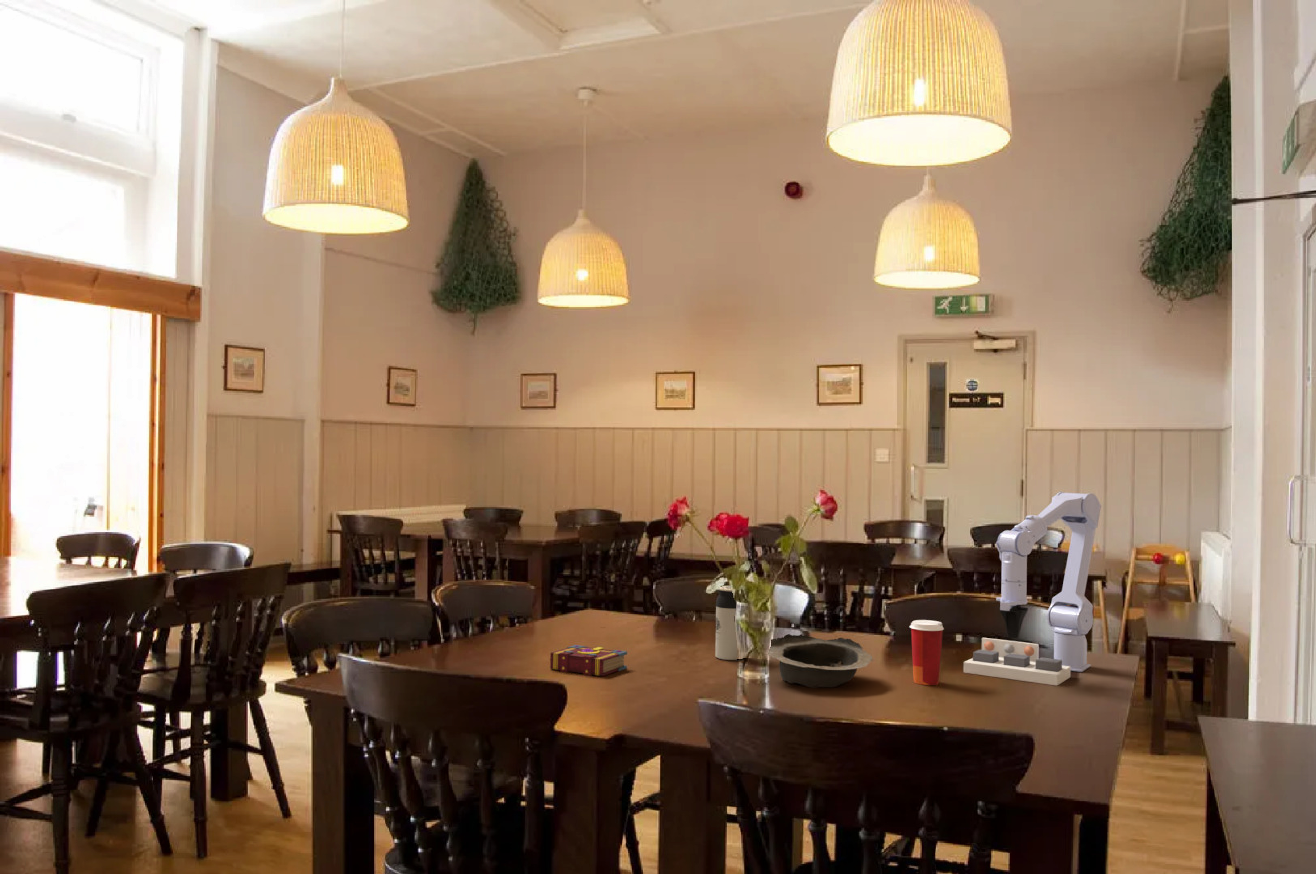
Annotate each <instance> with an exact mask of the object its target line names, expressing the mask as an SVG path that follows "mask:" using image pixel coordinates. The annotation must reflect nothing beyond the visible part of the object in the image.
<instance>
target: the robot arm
mask: <svg viewBox="0 0 1316 874" xmlns="http://www.w3.org/2000/svg"><path fill="white" fill-rule="evenodd" d="M1101 508H1102V505H1101V503H1100V501H1099V498H1098V497H1097V496H1096V494H1094V493H1091V492H1089V493H1079V492H1078V493H1077V492H1065V491H1059V492H1058V493H1056V495H1054V496H1052V497H1051V502H1050V503H1049V505H1048V506H1046V507H1045V508H1043V510H1042V511H1041V512H1040V513H1039V514H1037V515H1035V514H1031V515H1030V514H1028V515H1026V516H1025V517H1024V518H1025V519H1024V520H1023V521H1021V522H1019V524H1015V525H1014V527H1013V528H1012V529H1011V530H1008V529H1006V530H1004V531H1002V532H1001V533H999V535H998V537H997V541H996V542H995V544H996V545H995V546H996V548H997V551H998V552H999V560H1000V561H1001V592H1000V593H1001V596H1000V597H996V598H995V599H996V602H997V601H998V602H999V603H1000V604H999V605H1000V607H999V612H1000V614H1001V616H1002V618H1003V621H1004V624H1005V629H1006V633H1007V637H1008V638H1011V639H1018V638H1019V637H1020V633H1021V629H1022V625H1023V622H1024V618H1025V616H1026V614H1027V613H1028V611H1029V609H1028V607H1024V606H1022V605H1027V604H1028V598H1027V597H1028V596H1027V583H1028V582H1027V580H1028V579H1027V578H1028V577H1027V576H1028V573H1027V572H1028V570H1027V569H1028V567H1027V565H1028V564H1027V563H1028V555H1030V554H1031V552H1032V550H1033V547H1034V546H1035V544H1036V542H1038V541H1039V540H1040V539H1042V538H1043V537H1044V536H1045V535H1047V533H1048V527H1049V526H1051V525H1053V524H1054V523H1056V522H1057V521H1059V520H1061V521H1062V523H1063V524H1064V525H1065V526H1067V527H1068V528H1070V531H1071V539H1070V543H1069V548H1068V555H1067V560H1066V565H1065V572H1064V577H1063V584H1062V588H1061V591H1060V592H1059V593H1057V594H1056V595H1055V596H1053V597H1052V598H1051V603H1050V606H1049V607H1048V609H1047V612H1046V621H1047V624H1048V626H1049V627H1051V631H1052V632H1053V659H1058V660H1062V666H1070V667H1071V672H1078V673H1079V672H1080V673H1083V672H1084V671H1086V670H1087V669H1089V668H1090V667H1091V666H1092V664H1090V663H1088V657H1087V656H1088V642H1087V638H1086V635H1087V634H1088V633H1089V631H1090V630H1091V629H1092V626H1093V625H1094V624H1093V623H1094V617H1093V608H1094V605H1093V603H1091V602H1090V600H1088V599H1087V597H1086V596H1085V593H1086V588H1087V582H1088V577H1089V571H1090V565H1091V564H1090V563H1091V558H1092V553H1093V545H1094V540H1095V535H1096V529H1097V528H1098V526H1099V520H1100V515H1101Z"/></svg>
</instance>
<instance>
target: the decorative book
mask: <svg viewBox="0 0 1316 874" xmlns="http://www.w3.org/2000/svg"><path fill="white" fill-rule="evenodd" d="M626 655H628V651H627V650H620V649H619V650H618V649H605V647H601V646H598V647H589V646H588V645H587V646H585V645H579V644H573V645H570V646H567V647H566V648H562V649H559V650H555V651H552V652H550V658H549V660H550V662H549V663H550V667H549V668H550V670H558V671H559V672H561V673H570V672H571V673H578V674H583V676H590V677H591V676H599V677H604V676H607V675H610V674H612V673H615V672H620V671H624V670H627V669H628V667H627V665H625V656H626Z"/></svg>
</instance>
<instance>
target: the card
mask: <svg viewBox="0 0 1316 874" xmlns="http://www.w3.org/2000/svg"><path fill="white" fill-rule="evenodd" d="M1039 646H1040V645H1039V644H1038V643H1031V642H1024V641H1016V640H1007V639H998V638H987V637H982V638H981V650H987V651H995V652H999V657H1000V658H1004V656H1005V655H1008V654H1010V653H1011V654H1019V655H1027V656H1030V661H1031V662H1036V660H1037V659H1039V657H1040V655H1039V654H1040V653H1039V652H1040V651H1039V650H1040V649H1039V648H1040V647H1039Z"/></svg>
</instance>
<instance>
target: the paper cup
mask: <svg viewBox="0 0 1316 874" xmlns="http://www.w3.org/2000/svg"><path fill="white" fill-rule="evenodd" d="M909 628H910V630H911V631H910V632H911V653H912V655H911V656H912V672H913V676H912V677H913V683H914V684H918V685H923V686H937V685H939V680H940V673H941V671H940V670H941V669H940V668H941V656H942V647H943V646H942V645H943V630H945V628H944V627H943V623H942V622H941V621H937V620H930V619H928V620H927V619H916V620H913V621H912V622H910V625H909Z"/></svg>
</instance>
